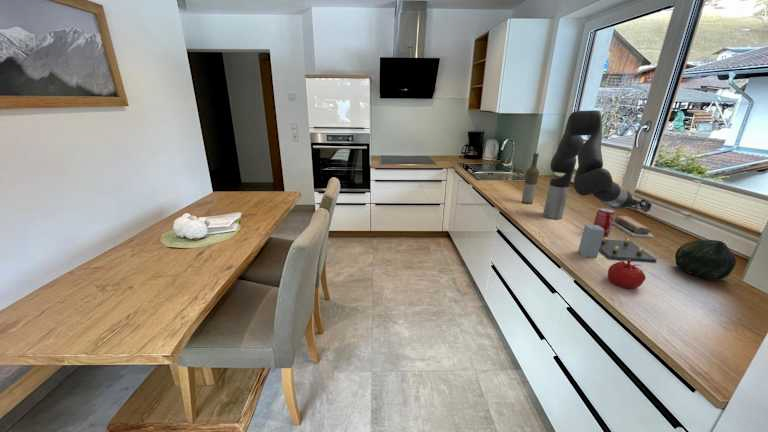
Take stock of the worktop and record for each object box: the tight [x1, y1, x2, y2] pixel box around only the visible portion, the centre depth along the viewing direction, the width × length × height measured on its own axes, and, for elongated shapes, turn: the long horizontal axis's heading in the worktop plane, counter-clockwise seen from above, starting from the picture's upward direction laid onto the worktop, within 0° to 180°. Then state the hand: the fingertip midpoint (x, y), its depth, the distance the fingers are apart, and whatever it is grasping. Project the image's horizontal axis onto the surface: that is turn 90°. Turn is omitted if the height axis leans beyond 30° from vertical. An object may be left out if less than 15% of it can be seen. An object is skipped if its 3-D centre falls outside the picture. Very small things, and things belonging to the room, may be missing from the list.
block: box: [577, 224, 605, 258], centre depth 124 cm, size 5×5×12 cm
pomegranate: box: [607, 259, 647, 289], centre depth 104 cm, size 10×10×9 cm
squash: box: [674, 239, 737, 281], centre depth 110 cm, size 14×15×15 cm
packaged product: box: [612, 215, 655, 239], centre depth 150 cm, size 18×5×10 cm
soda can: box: [593, 207, 616, 237], centre depth 144 cm, size 7×7×12 cm
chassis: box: [599, 236, 658, 263], centre depth 128 cm, size 17×17×4 cm
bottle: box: [521, 152, 540, 205], centre depth 183 cm, size 7×7×30 cm
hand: (632, 207), depth 118 cm, fingers open, 8 cm apart
